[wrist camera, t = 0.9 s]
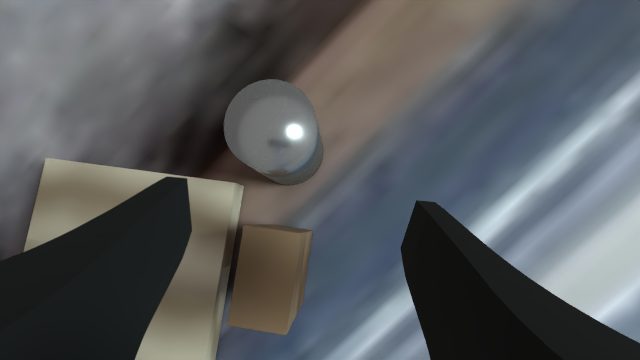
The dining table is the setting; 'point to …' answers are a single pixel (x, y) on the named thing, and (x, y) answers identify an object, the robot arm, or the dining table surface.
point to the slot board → (198, 261)
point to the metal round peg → (274, 131)
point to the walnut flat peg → (270, 277)
